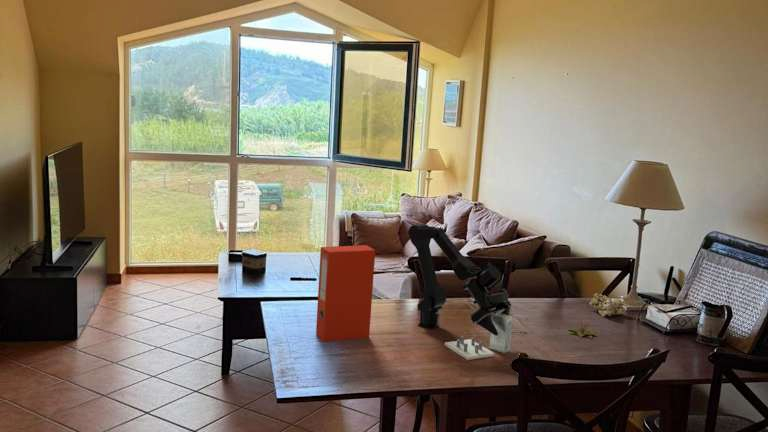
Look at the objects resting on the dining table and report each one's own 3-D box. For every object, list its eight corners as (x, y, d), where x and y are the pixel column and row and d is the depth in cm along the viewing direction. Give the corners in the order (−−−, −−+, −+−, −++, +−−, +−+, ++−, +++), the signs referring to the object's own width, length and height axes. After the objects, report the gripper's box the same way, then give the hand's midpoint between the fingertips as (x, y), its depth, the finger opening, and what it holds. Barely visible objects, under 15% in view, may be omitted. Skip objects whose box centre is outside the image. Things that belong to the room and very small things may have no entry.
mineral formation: (605, 319, 277) (579, 306, 290) (627, 321, 284) (601, 308, 296) (611, 301, 276) (585, 288, 289) (632, 303, 282) (606, 291, 295)
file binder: (369, 337, 237) (375, 250, 232) (324, 342, 229) (329, 252, 224) (360, 330, 244) (365, 244, 239) (315, 334, 236) (320, 246, 231)
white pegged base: (444, 345, 235) (445, 335, 234) (470, 341, 240) (471, 332, 239) (467, 359, 223) (468, 349, 222) (493, 356, 228) (494, 346, 227)
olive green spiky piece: (563, 335, 255) (564, 323, 254) (570, 327, 266) (571, 316, 265) (595, 342, 250) (597, 330, 249) (601, 333, 260) (602, 322, 260)
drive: (489, 348, 235) (492, 314, 233) (494, 346, 237) (498, 312, 235) (503, 353, 231) (507, 318, 229) (509, 350, 234) (512, 316, 231)
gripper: (480, 286, 226) (506, 326, 221) (509, 278, 240) (533, 315, 234) (459, 303, 232) (483, 342, 227) (489, 294, 246) (512, 330, 241)
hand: (504, 332), depth 232 cm, fingers open, 9 cm apart
